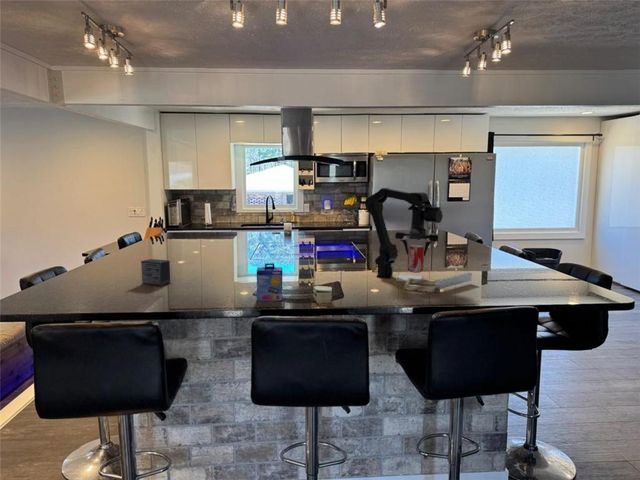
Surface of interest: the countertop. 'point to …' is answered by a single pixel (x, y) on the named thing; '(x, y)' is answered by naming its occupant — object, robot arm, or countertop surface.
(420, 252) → the soda can
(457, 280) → the latch bar
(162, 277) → the small box
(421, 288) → the frame
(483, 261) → the countertop surface
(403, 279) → the pad
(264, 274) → the ink cartridge box
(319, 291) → the stacked layers on plate
